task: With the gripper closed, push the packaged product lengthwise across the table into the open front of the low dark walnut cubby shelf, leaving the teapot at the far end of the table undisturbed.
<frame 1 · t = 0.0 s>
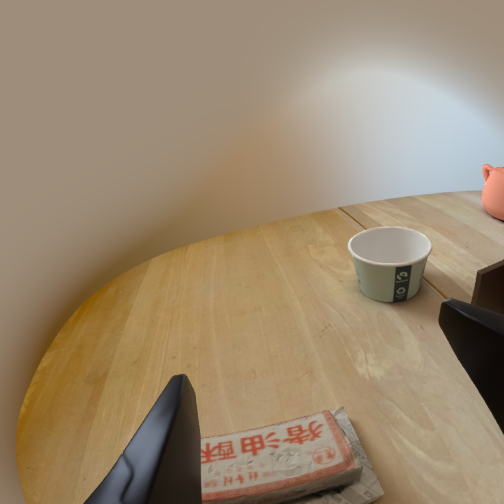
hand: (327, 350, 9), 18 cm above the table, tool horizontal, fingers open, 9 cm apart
food container: (389, 285, 42), on the table
packaged product: (257, 485, 20), on the table
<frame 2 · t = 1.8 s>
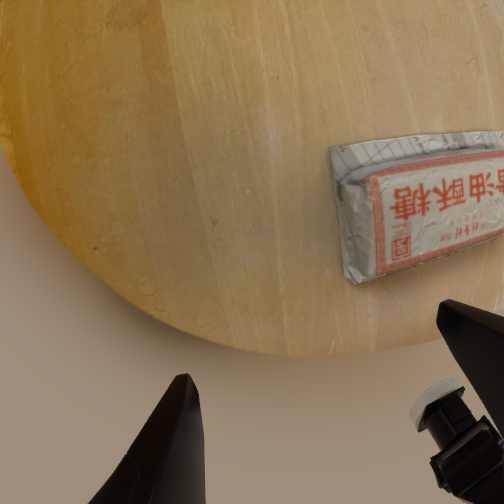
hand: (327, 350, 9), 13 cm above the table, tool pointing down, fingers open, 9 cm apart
packaged product: (432, 194, 21), on the table
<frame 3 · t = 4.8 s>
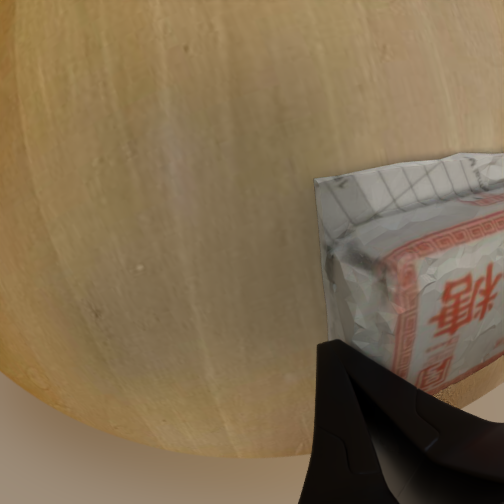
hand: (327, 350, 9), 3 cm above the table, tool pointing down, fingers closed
packaged product: (477, 247, 12), on the table, touching gripper
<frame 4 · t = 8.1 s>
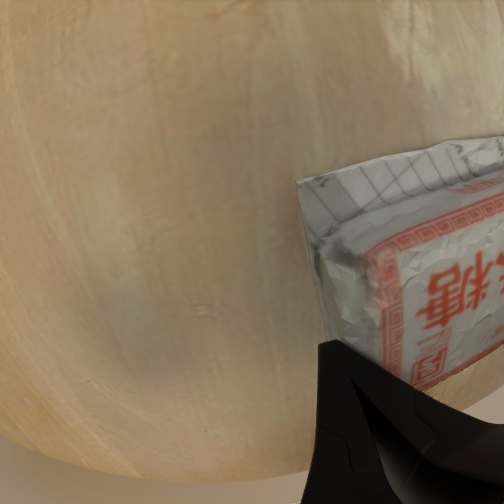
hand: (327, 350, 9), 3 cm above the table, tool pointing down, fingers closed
packaged product: (475, 234, 12), on the table, touching gripper
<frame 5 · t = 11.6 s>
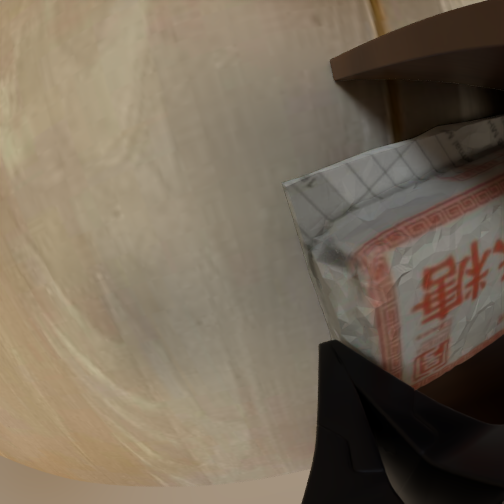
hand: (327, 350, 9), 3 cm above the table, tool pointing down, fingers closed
packaged product: (474, 218, 12), on the table, touching gripper
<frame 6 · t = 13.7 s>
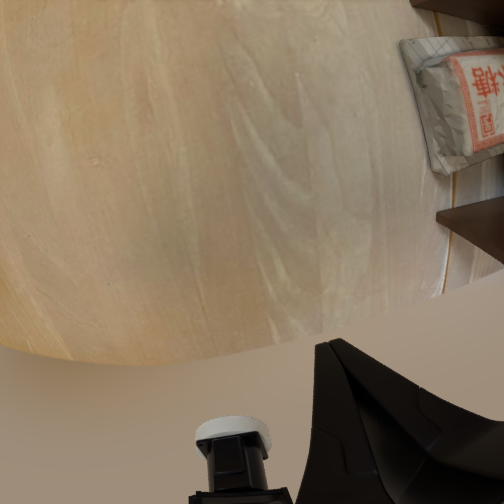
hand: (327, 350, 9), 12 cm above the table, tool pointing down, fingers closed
packaged product: (486, 92, 17), on the table
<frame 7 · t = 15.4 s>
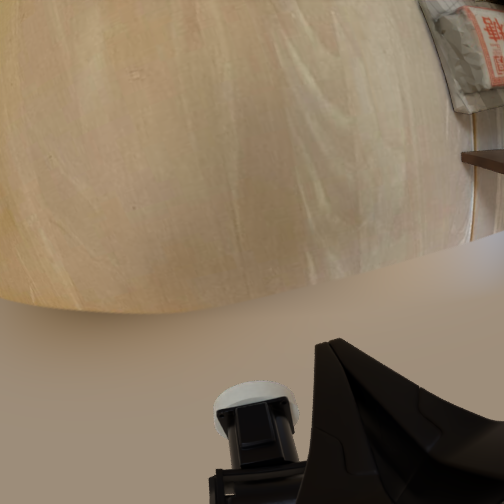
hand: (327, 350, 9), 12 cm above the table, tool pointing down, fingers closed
packaged product: (494, 52, 16), on the table
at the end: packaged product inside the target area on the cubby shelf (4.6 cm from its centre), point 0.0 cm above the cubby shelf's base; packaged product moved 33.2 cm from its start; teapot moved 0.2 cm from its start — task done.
